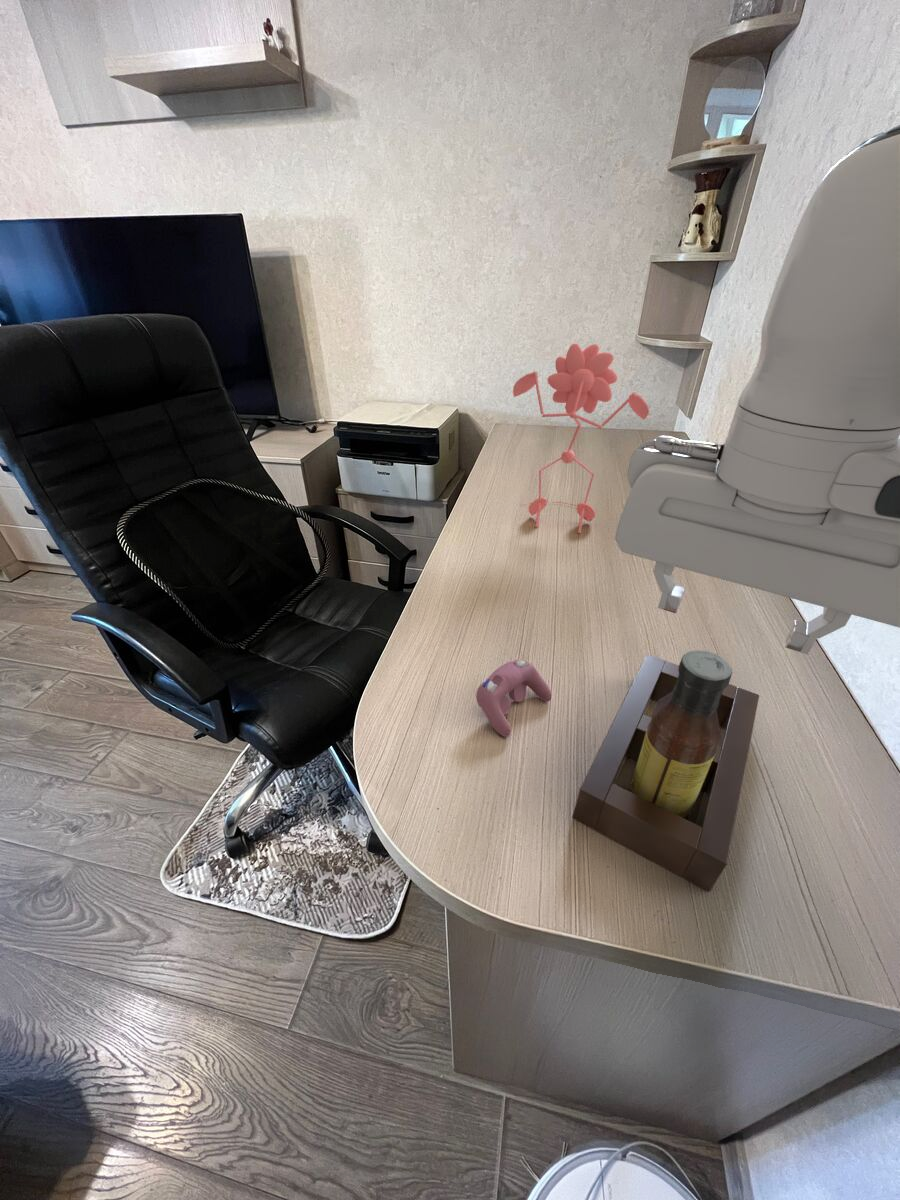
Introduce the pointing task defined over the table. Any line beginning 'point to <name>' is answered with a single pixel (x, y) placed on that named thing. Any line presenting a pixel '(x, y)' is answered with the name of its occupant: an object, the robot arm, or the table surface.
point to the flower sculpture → (578, 403)
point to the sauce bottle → (682, 735)
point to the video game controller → (509, 691)
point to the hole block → (650, 826)
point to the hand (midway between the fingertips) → (729, 626)
